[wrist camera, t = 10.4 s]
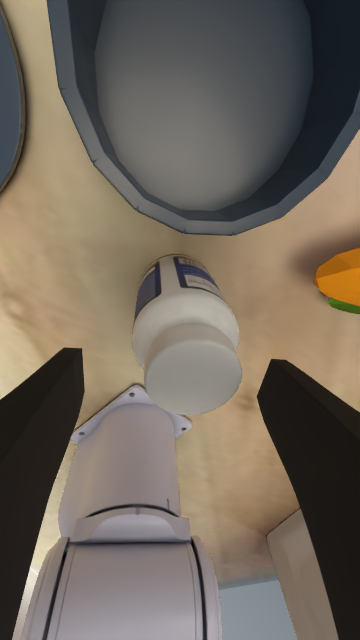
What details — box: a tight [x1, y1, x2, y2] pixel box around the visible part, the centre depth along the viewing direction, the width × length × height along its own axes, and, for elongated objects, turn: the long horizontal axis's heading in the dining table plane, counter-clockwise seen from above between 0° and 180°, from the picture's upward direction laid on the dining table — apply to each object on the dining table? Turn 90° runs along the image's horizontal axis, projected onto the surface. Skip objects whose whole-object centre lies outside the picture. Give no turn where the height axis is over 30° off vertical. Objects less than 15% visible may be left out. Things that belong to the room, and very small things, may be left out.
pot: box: [47, 0, 360, 236], centre depth 11 cm, size 12×12×5 cm
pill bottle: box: [132, 254, 242, 415], centre depth 14 cm, size 5×5×10 cm
